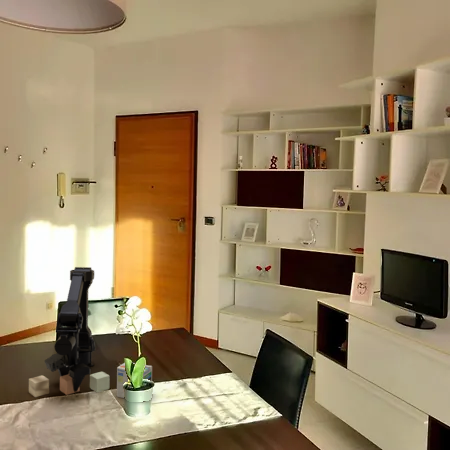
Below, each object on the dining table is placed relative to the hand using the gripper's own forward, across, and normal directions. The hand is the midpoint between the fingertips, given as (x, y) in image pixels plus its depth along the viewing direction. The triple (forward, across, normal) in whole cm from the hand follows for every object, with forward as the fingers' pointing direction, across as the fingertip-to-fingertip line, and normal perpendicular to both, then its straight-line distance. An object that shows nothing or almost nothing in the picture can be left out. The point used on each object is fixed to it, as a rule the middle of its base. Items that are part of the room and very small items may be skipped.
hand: (69, 387), depth 187 cm
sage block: (+1, +5, +9) cm, 10 cm away
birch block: (+1, -5, -9) cm, 10 cm away
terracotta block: (+1, 0, 0) cm, 1 cm away
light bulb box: (+1, +18, +15) cm, 23 cm away
